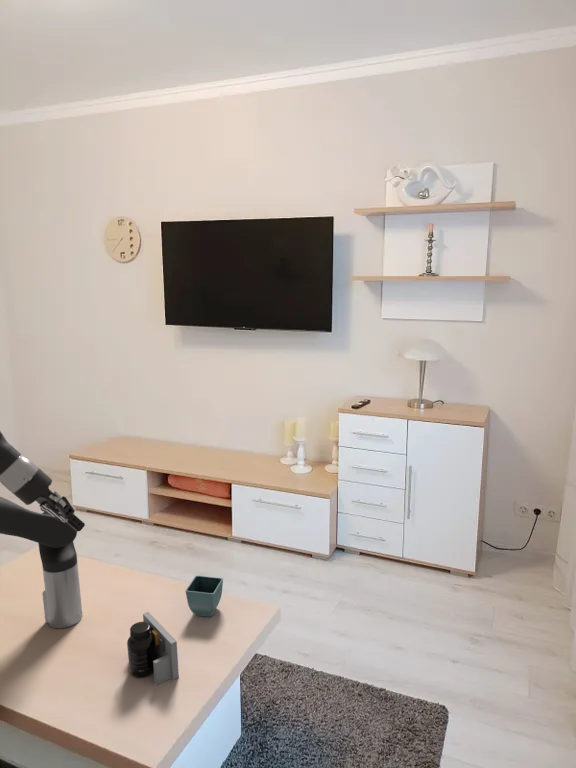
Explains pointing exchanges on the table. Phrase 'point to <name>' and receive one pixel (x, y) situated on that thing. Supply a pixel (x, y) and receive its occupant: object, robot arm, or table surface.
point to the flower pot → (204, 595)
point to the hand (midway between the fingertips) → (81, 528)
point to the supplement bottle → (141, 650)
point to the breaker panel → (163, 651)
